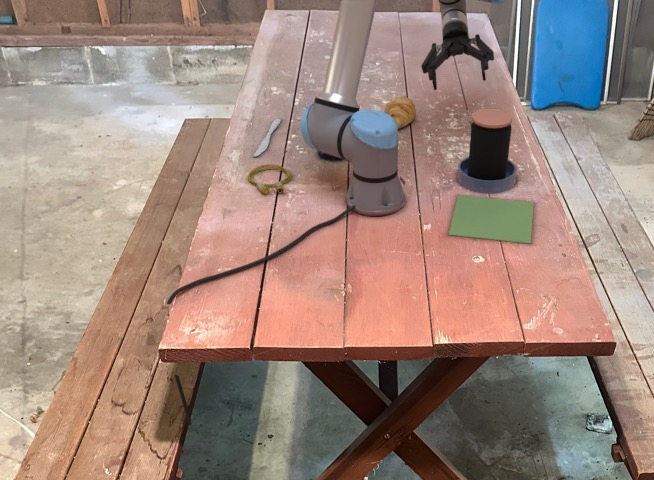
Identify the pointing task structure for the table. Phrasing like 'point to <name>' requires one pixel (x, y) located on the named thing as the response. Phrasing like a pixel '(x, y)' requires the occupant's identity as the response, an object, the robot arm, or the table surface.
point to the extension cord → (264, 188)
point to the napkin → (492, 219)
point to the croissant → (401, 110)
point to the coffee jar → (489, 144)
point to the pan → (486, 185)
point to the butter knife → (267, 137)
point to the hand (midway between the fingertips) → (459, 81)
